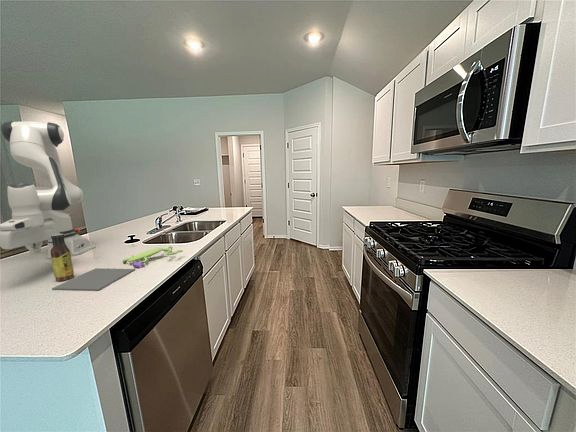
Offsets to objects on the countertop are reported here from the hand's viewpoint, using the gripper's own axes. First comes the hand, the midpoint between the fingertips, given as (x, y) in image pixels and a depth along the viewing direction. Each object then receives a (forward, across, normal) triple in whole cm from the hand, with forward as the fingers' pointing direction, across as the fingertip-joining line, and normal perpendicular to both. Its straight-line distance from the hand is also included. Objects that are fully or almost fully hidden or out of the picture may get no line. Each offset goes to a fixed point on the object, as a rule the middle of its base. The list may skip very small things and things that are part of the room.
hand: (35, 252), depth 104 cm
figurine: (+12, -24, +37) cm, 46 cm away
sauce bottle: (+12, 0, +11) cm, 16 cm away
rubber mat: (+12, 0, +26) cm, 29 cm away
